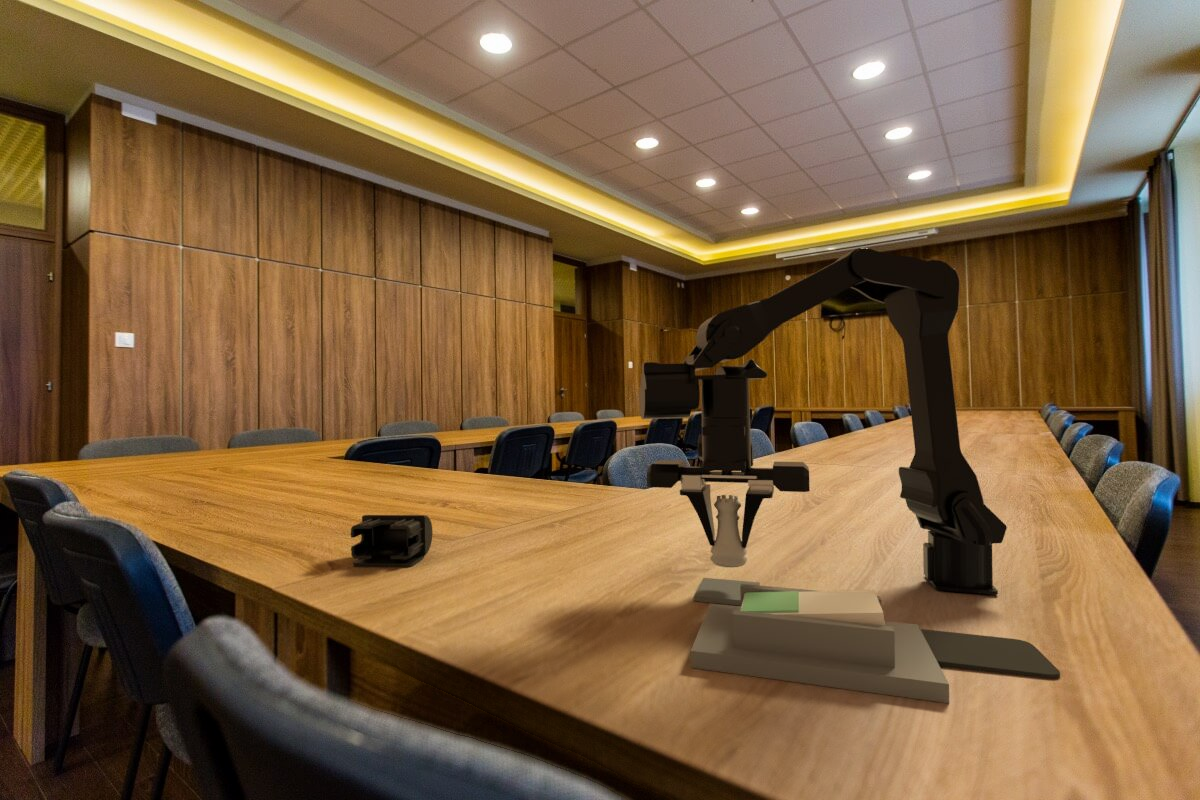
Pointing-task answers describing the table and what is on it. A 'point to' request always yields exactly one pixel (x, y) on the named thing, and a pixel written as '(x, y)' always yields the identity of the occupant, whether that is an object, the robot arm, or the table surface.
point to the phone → (989, 654)
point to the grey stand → (819, 651)
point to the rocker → (819, 605)
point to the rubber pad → (720, 591)
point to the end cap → (391, 540)
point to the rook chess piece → (728, 534)
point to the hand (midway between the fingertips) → (728, 546)
